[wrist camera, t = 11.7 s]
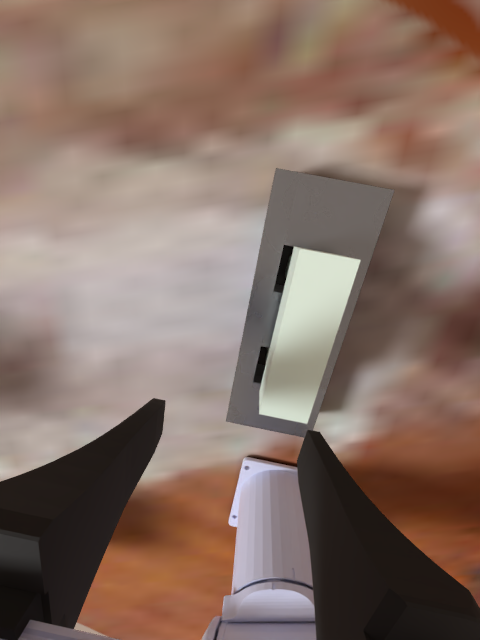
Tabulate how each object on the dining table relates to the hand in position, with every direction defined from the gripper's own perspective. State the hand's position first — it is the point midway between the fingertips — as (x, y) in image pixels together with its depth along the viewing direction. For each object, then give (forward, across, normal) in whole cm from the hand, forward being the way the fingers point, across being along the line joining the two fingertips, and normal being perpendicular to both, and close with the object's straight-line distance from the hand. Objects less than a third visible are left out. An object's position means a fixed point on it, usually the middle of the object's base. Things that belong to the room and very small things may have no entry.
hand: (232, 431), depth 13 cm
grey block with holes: (+9, -3, -4) cm, 11 cm away
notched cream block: (+9, -3, -4) cm, 11 cm away
